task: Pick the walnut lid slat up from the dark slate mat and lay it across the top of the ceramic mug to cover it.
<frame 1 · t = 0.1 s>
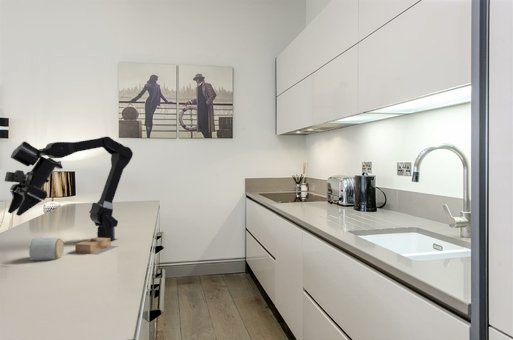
hand: (13, 214, 117), 15 cm above the worktop, tool tilted 30°, fingers open, 9 cm apart
lid: (93, 249, 126), point 1 cm above the worktop, touching mat
ceramic mug: (48, 259, 116), on the worktop
mat: (93, 251, 126), on the worktop
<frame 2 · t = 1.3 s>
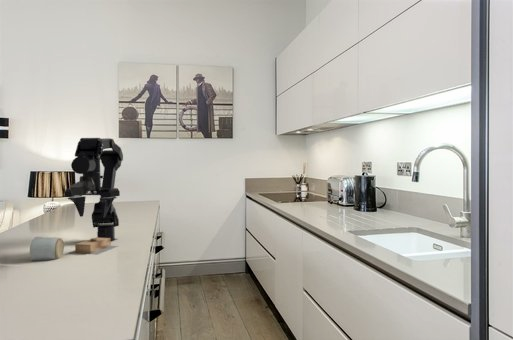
hand: (92, 216, 126), 12 cm above the worktop, tool pointing down, fingers open, 9 cm apart
nothing on the worktop moved.
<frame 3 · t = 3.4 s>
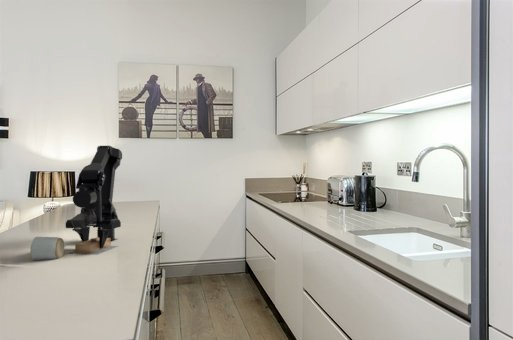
hand: (93, 247, 126), 1 cm above the worktop, tool pointing down, fingers closed on lid, 6 cm apart
lid: (93, 249, 126), point 1 cm above the worktop, touching gripper, mat
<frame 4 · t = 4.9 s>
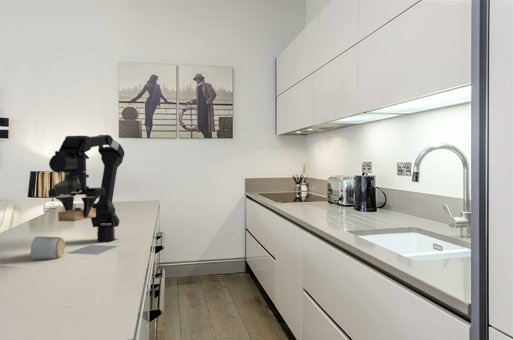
hand: (77, 217, 122), 13 cm above the worktop, tool pointing down, fingers closed on lid, 6 cm apart
lid: (77, 218, 122), point 12 cm above the worktop, touching gripper
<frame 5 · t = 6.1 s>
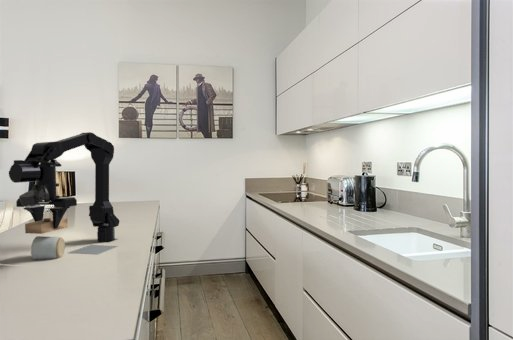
hand: (47, 228, 116), 10 cm above the worktop, tool pointing down, fingers closed on lid, 6 cm apart
lid: (47, 230, 116), point 10 cm above the worktop, touching gripper
when the fingers open (10 cm above the worktop, at t = 6.7 s): lid drops 2 cm, resting on ceramic mug.
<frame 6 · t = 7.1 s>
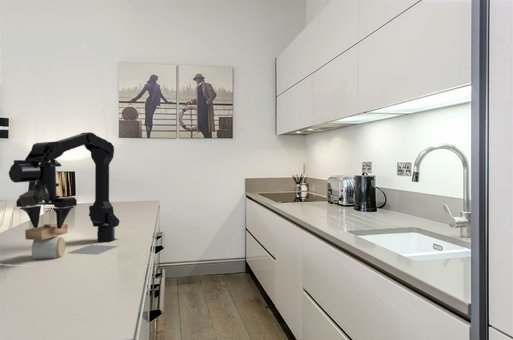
hand: (47, 228, 116), 10 cm above the worktop, tool pointing down, fingers open, 9 cm apart
lid: (47, 236, 116), point 8 cm above the worktop, touching ceramic mug
ceramic mug: (50, 258, 118), on the worktop, touching lid
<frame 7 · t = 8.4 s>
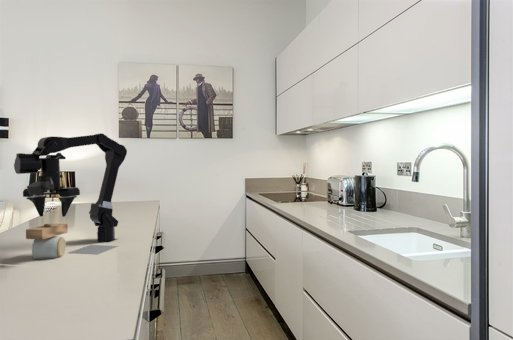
hand: (52, 216, 125), 13 cm above the worktop, tool pointing down, fingers open, 9 cm apart
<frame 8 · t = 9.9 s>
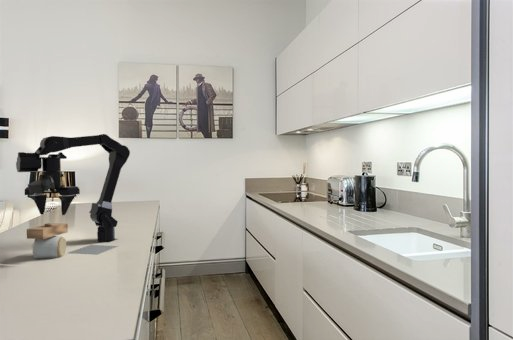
hand: (52, 214, 127), 13 cm above the worktop, tool pointing down, fingers open, 9 cm apart
at the end: lid inside the target area on the ceramic mug (1.0 cm from its centre), point 7.9 cm above the ceramic mug's base; lid touching ceramic mug; lid tilted 0° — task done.
